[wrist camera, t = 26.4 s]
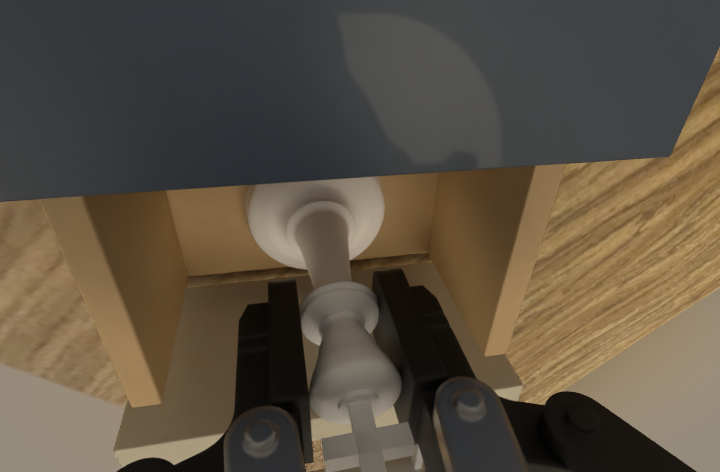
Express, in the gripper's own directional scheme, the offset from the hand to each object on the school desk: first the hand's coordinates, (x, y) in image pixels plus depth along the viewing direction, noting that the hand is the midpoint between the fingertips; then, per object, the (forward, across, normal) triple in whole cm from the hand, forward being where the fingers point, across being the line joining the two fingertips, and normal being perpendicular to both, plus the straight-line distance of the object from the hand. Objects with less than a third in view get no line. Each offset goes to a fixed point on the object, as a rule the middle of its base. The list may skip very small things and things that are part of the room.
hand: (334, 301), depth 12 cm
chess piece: (+5, 0, 0) cm, 5 cm away
